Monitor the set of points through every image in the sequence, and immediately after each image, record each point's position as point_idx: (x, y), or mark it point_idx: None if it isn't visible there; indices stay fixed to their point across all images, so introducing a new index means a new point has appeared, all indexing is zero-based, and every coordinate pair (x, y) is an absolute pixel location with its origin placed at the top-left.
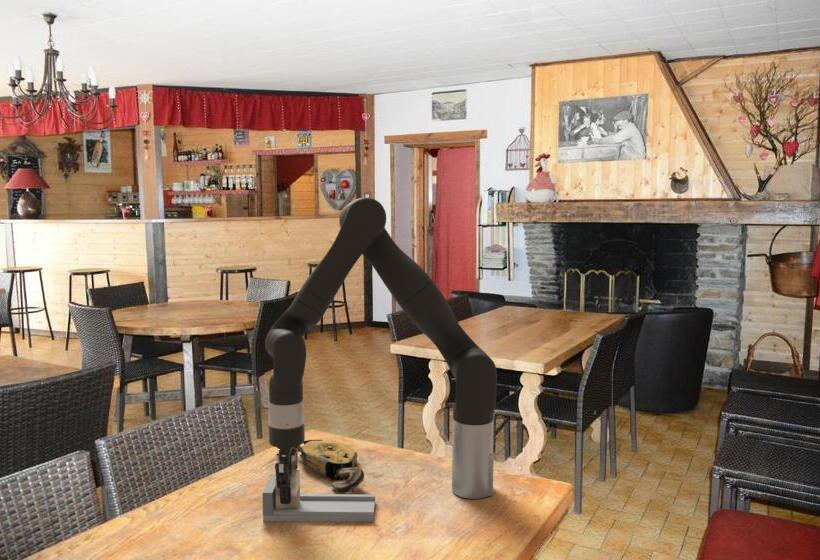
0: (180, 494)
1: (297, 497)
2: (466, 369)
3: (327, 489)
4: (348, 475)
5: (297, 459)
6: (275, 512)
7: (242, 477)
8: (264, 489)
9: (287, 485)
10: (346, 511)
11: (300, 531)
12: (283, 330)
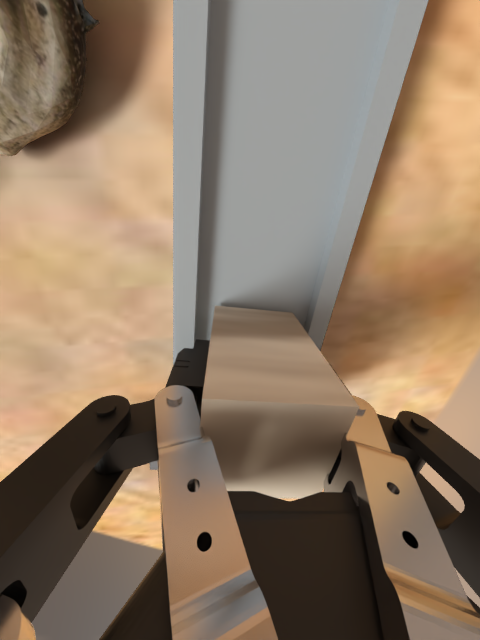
0: (143, 536)
1: (277, 326)
2: None
3: (36, 182)
4: None
5: (39, 452)
6: None
7: (16, 465)
8: None
9: (440, 435)
10: (407, 47)
11: (393, 285)
12: None
